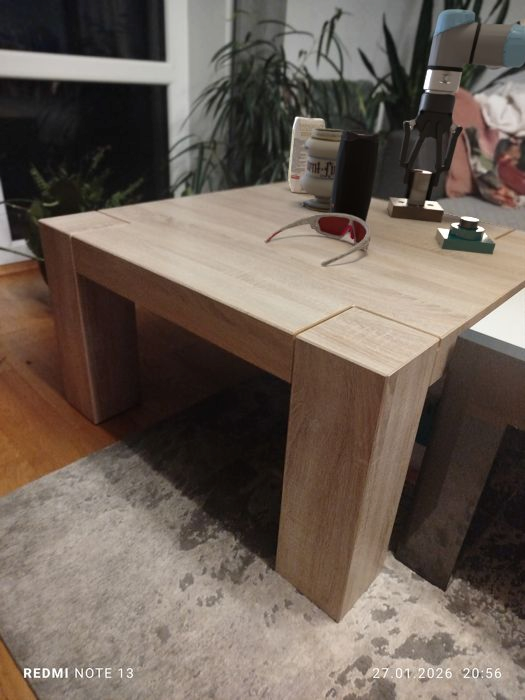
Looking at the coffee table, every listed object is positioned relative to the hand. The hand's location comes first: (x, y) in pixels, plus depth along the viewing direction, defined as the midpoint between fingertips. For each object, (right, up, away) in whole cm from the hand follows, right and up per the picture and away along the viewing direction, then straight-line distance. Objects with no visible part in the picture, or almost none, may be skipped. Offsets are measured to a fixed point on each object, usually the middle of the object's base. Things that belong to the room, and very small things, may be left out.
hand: (416, 198), depth 124 cm
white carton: (-27, +8, +19) cm, 34 cm away
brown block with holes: (0, -4, +2) cm, 4 cm away
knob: (0, -1, +1) cm, 1 cm away
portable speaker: (-19, -10, -12) cm, 25 cm away
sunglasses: (-27, -18, -28) cm, 42 cm away
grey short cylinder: (+4, -13, -21) cm, 25 cm away
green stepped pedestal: (+3, -16, -20) cm, 25 cm away
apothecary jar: (-23, -1, +3) cm, 23 cm away
